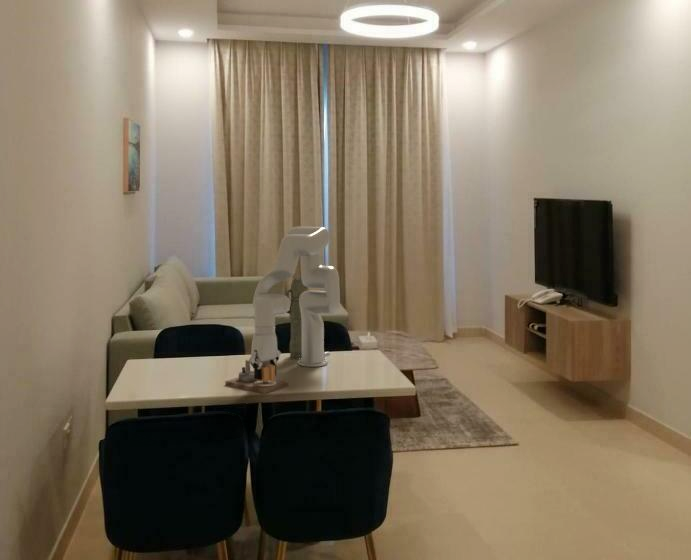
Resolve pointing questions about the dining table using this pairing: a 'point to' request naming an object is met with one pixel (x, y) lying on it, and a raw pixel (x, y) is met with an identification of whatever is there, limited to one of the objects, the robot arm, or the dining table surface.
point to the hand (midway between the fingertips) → (265, 376)
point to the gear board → (254, 381)
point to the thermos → (296, 318)
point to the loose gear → (267, 373)
